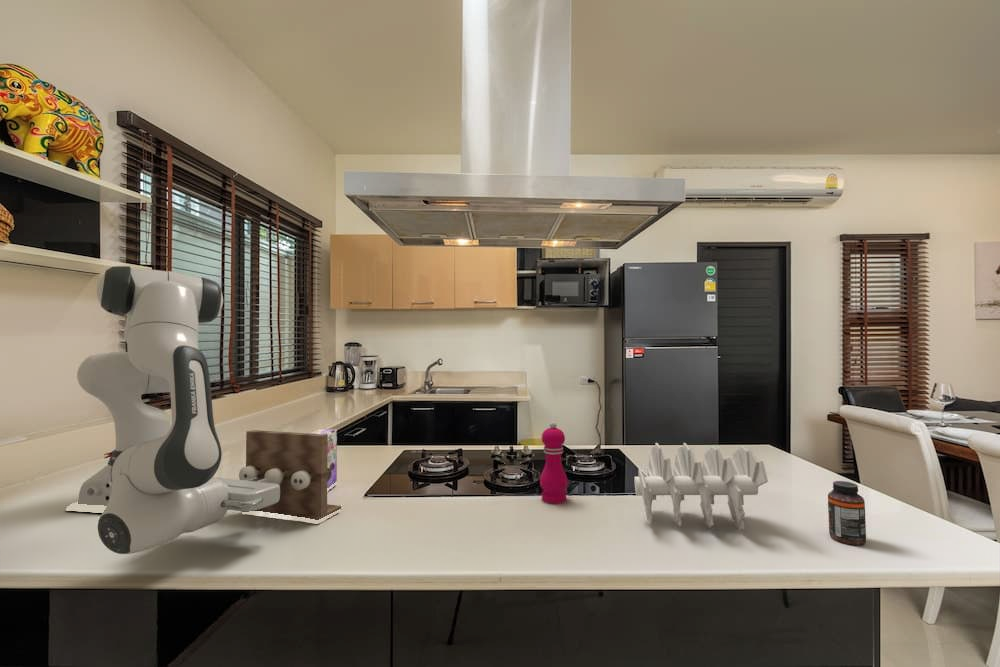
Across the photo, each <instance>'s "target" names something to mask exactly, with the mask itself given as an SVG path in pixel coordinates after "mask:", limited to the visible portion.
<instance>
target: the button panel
mask: <svg viewBox="0 0 1000 667" xmlns="http://www.w3.org/2000/svg"><path fill="white" fill-rule="evenodd" d="M310 433H311V432H309V433H308V432H307V433H305V432H293V431H277V430H275V431H273V430H260V429H259V430H258V429H252V430H246V435H245V437H246V438H245V439H246V440H245V441H246V442H245V467H247V466H254V467H255V468H256V470H257V469H260V468H261V474H259V475H258V476H257V478H263V479H264V476H265V473H266V472H267V471H268V470H270V469H273V468H279V469H280V470H281V471H282V472H283V471H286V476H285V477H283V482H282V483H281V484H280V499H279V501H278V502H277V503H275V504H273V505H270V506H267V507H264V508H261V509H258V510H255V511H263V512H270V513H278V514H284V515H291V516H297V517H305V518H310V519H315V520H319V519H321V518H323V517H325V516H327V515H329V514H331V513H333V512H335V511H337V510H339V509H341V510H342V506H341V505H336V504H330V503H329V504H328V493H327V463H328V435H327V434H310ZM301 470H304V471H306V472H308V474H310V473H312V479H311V480H310V484H309V486H308V487H307V488H304V489H302V490H296V489H294V488H293V486H292V484H291V477H292V475H293V474H294V473H296V472H298V471H301Z"/></svg>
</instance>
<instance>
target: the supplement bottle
mask: <svg viewBox="0 0 1000 667" xmlns="http://www.w3.org/2000/svg"><path fill="white" fill-rule="evenodd" d="M832 488H833V489H832V490H831V491H830V492H829V491H828V493H827V500H828V501H827V510H828V511H827V512H828V532H829V536H830V538H831V539H833V540H835V541H836V542H839V543H842V544H845V545H851V546H861V545H865V544H866V542H867V525H866V524H867V522H866V507H865V506H866V503H865V499H864V497H862V495H860V494H859V493H858V492H859V485H858V484H857V483H854V482H851V481H844V480H836V481H833V482H832Z"/></svg>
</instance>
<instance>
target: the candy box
mask: <svg viewBox="0 0 1000 667" xmlns="http://www.w3.org/2000/svg"><path fill="white" fill-rule="evenodd" d="M337 431H338V429H335V428H333V429H330V428H329V429H326V428H324V429H317V430H314V431H312V432H309V433H310V434H327V435H328V463H327V488H329V487H330V486H331V485H332V484H334V483H335V482H336V481H337V482H338V479H337V478H338V477H337V476H338V472H337V471H338V469H337V468H338V465H337V464H338V462H337V461H338V458H337V457H338V456H337V455H338V452H337V450H338V441H337V440H338V436H337V435H338V432H337Z"/></svg>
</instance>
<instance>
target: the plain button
mask: <svg viewBox="0 0 1000 667" xmlns="http://www.w3.org/2000/svg"><path fill="white" fill-rule="evenodd" d="M285 476H286V471H283V472H282V471H281V470H280V469H279V468H273V469H270V470H268V471H267V472H266V473H265V476H264V479H267V483H274V484H279V485H280V484H281V483H282V482H283V477H285Z"/></svg>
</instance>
